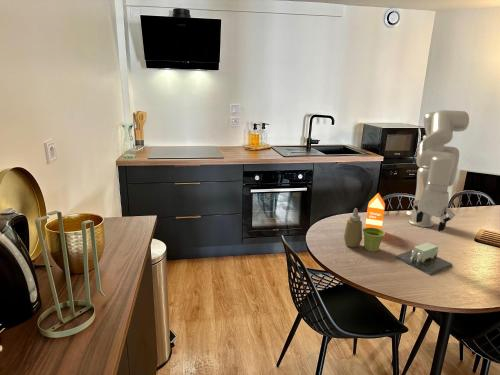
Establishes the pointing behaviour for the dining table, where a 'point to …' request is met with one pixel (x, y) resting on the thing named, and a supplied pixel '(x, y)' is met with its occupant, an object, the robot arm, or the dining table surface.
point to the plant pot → (372, 238)
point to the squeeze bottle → (353, 230)
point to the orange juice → (375, 212)
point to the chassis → (424, 262)
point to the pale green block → (425, 250)
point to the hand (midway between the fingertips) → (429, 226)
